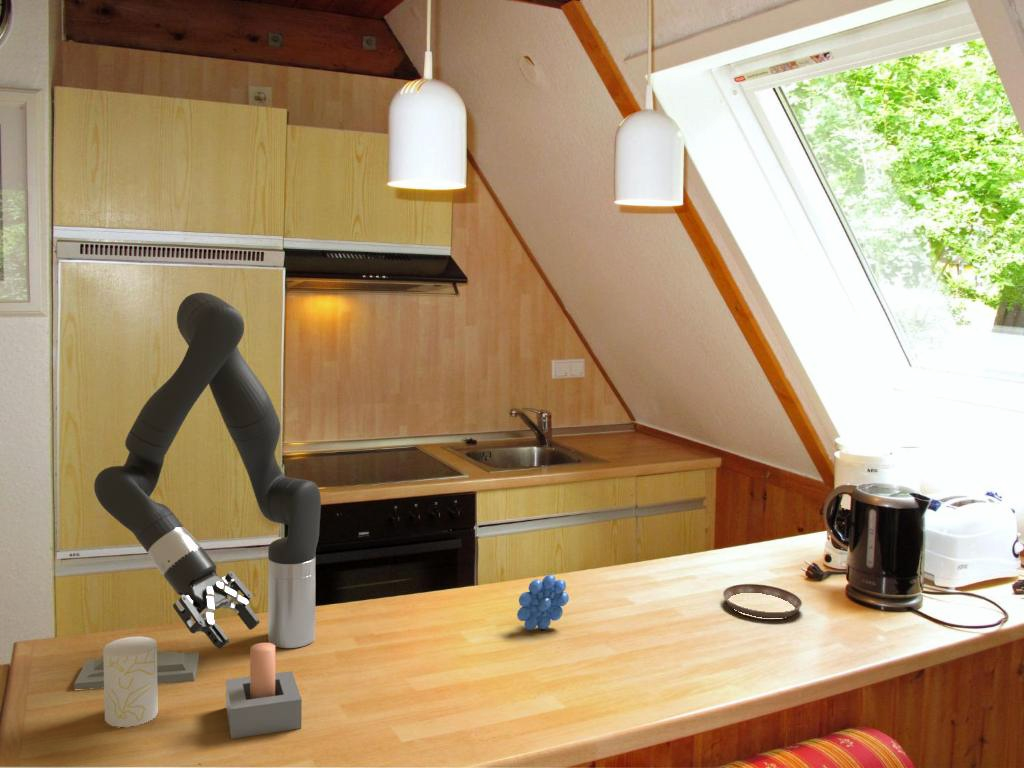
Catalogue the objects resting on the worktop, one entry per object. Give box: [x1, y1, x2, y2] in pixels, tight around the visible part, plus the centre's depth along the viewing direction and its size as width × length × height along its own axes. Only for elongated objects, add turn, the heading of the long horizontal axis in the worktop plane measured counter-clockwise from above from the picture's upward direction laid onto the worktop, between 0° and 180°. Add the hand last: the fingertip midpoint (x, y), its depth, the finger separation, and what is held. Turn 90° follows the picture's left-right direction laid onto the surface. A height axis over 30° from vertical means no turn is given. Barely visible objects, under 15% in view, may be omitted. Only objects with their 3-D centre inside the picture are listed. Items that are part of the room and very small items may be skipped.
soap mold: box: [73, 650, 200, 690], centre depth 166 cm, size 10×20×4 cm, turn 104°
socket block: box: [225, 670, 303, 740], centre depth 151 cm, size 11×11×5 cm
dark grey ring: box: [722, 583, 803, 618], centre depth 210 cm, size 18×18×3 cm
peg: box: [249, 642, 276, 699], centre depth 151 cm, size 4×4×12 cm
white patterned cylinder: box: [102, 636, 159, 728], centre depth 150 cm, size 8×8×12 cm
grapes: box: [516, 574, 570, 631], centre depth 193 cm, size 12×7×12 cm, turn 110°
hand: (240, 635), depth 151 cm, fingers open, 8 cm apart
